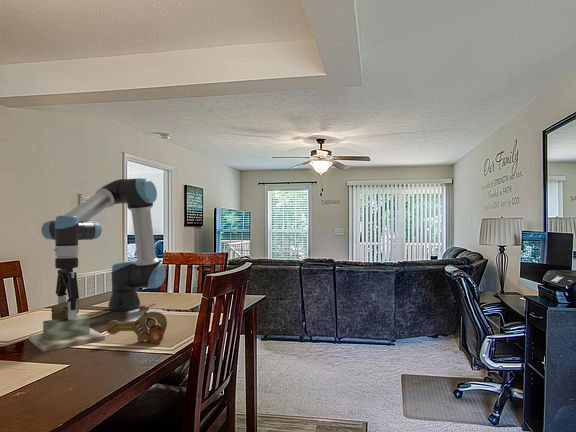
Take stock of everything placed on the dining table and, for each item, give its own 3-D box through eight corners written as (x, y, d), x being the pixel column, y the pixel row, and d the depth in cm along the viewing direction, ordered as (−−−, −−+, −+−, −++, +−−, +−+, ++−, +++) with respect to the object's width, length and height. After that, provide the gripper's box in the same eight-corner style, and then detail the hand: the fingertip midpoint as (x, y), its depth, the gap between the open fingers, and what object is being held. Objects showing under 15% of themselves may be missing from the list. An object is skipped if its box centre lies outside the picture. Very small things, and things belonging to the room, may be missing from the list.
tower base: (86, 329, 166) (86, 310, 166) (104, 339, 152) (104, 319, 152) (28, 339, 152) (28, 319, 152) (43, 351, 138) (43, 329, 138)
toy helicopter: (166, 343, 147) (166, 304, 147) (103, 347, 142) (103, 307, 143) (167, 337, 155) (167, 300, 155) (108, 340, 150) (108, 303, 151)
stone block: (80, 313, 158) (80, 300, 158) (67, 320, 146) (67, 306, 146) (64, 313, 157) (64, 300, 157) (50, 321, 146) (50, 307, 146)
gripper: (46, 255, 158) (46, 312, 158) (65, 259, 141) (65, 323, 141) (67, 254, 164) (67, 309, 163) (88, 258, 146) (89, 319, 146)
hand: (67, 316), depth 152 cm, fingers closed on stone block, 12 cm apart
